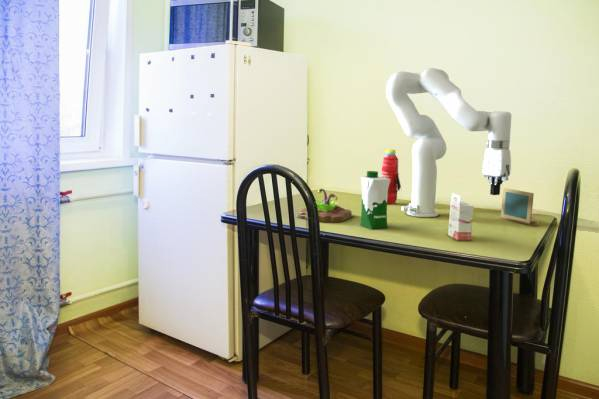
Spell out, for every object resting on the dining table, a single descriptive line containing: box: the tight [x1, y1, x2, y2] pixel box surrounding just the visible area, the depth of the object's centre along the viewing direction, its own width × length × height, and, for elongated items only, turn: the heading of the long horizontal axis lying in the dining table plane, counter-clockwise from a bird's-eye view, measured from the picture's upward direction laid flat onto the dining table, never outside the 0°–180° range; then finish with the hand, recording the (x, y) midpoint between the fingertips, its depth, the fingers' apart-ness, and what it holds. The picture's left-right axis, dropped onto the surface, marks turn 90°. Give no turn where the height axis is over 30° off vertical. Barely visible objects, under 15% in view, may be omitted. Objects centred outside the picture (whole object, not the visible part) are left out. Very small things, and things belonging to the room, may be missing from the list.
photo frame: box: [500, 187, 535, 223], centre depth 194 cm, size 12×14×5 cm
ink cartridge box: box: [447, 192, 474, 241], centre depth 168 cm, size 9×5×15 cm, turn 5°
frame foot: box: [501, 217, 539, 227], centre depth 195 cm, size 2×15×2 cm, turn 24°
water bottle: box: [381, 148, 402, 205], centre depth 229 cm, size 12×8×25 cm, turn 36°
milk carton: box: [360, 170, 390, 230], centre depth 182 cm, size 9×9×20 cm
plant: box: [297, 188, 353, 223], centre depth 199 cm, size 20×20×11 cm
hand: (494, 194), depth 188 cm, fingers closed
